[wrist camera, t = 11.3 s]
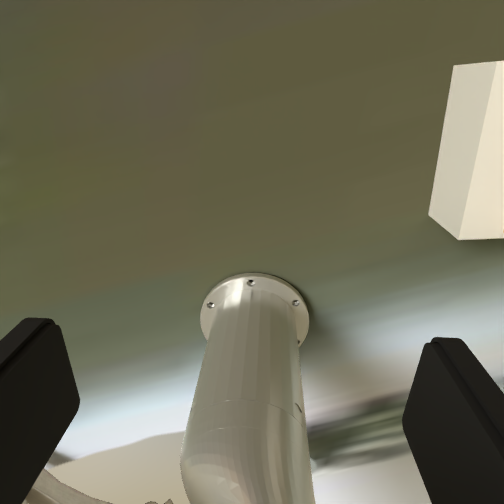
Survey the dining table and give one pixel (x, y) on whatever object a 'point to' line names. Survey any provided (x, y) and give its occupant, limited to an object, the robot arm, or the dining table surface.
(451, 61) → the dining table surface
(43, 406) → the robot arm
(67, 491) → the wall bracket
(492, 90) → the white recessed tray
